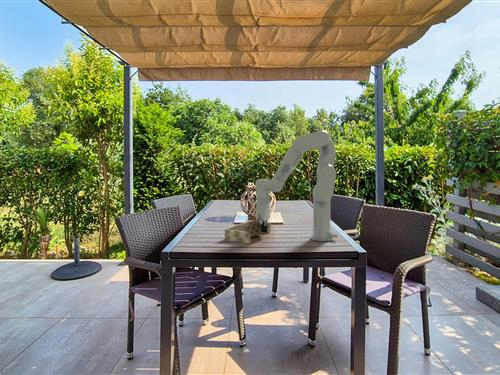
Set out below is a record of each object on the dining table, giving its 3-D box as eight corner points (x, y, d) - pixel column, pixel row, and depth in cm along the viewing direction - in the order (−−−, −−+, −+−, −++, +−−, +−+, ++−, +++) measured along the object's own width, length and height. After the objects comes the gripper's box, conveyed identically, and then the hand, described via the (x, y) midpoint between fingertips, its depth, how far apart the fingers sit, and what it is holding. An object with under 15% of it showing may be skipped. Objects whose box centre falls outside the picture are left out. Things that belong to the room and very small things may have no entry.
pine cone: (262, 233, 198) (262, 217, 197) (269, 236, 190) (269, 220, 189) (228, 237, 189) (228, 220, 188) (234, 241, 181) (234, 223, 180)
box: (270, 232, 200) (270, 222, 200) (249, 243, 176) (249, 232, 175) (248, 229, 208) (248, 220, 207) (224, 240, 183) (224, 229, 182)
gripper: (262, 198, 193) (264, 229, 195) (251, 202, 180) (252, 234, 182) (274, 199, 190) (275, 229, 191) (263, 202, 177) (265, 235, 178)
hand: (264, 232), depth 187 cm, fingers closed
